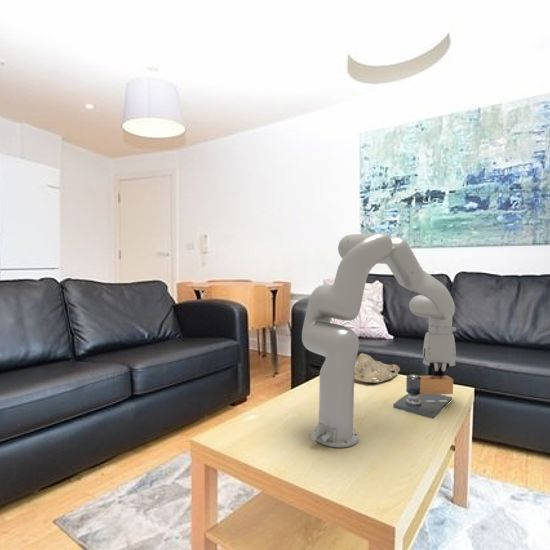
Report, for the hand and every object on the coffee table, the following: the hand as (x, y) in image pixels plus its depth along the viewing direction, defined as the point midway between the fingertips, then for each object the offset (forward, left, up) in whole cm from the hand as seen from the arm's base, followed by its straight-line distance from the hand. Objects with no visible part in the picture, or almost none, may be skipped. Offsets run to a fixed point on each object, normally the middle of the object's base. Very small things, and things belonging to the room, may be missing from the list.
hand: (438, 381), depth 135 cm
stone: (+12, +29, -7) cm, 32 cm away
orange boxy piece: (-7, +1, -2) cm, 8 cm away
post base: (-7, +3, -7) cm, 10 cm away
